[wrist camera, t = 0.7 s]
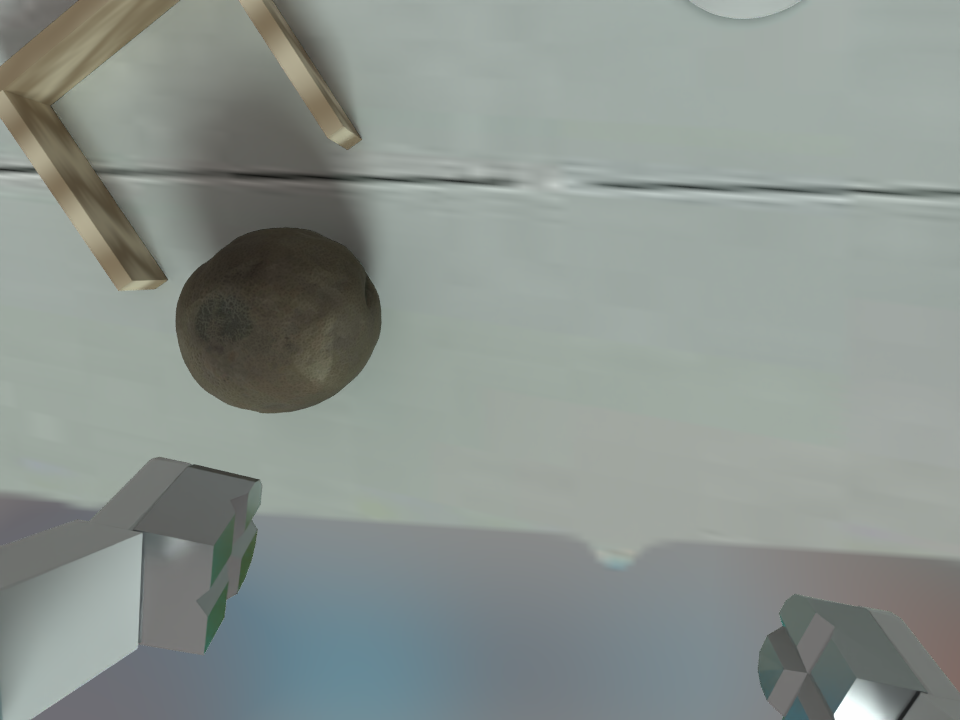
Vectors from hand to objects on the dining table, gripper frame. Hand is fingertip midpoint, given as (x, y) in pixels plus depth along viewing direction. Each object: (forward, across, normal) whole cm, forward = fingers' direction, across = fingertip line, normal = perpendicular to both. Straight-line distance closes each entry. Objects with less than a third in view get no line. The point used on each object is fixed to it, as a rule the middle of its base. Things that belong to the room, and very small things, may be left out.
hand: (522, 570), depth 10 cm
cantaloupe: (+46, +13, +14) cm, 49 cm away
